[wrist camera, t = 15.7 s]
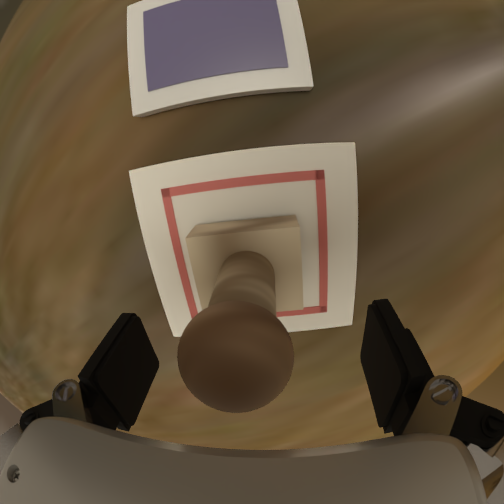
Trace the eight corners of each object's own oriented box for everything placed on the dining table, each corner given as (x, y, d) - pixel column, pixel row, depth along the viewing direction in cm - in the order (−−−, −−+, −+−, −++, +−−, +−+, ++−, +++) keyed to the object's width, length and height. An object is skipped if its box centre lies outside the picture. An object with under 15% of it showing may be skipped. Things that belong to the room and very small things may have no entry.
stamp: (294, 212, 17) (335, 334, 6) (298, 285, 19) (323, 433, 9) (197, 222, 18) (111, 341, 7) (211, 292, 20) (166, 432, 9)
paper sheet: (353, 142, 15) (355, 142, 15) (351, 322, 21) (352, 325, 20) (130, 170, 17) (128, 171, 17) (174, 334, 22) (173, 337, 22)
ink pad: (288, -17, 11) (290, -28, 9) (309, 90, 14) (314, 85, 13) (135, 12, 12) (126, 5, 10) (142, 117, 15) (131, 116, 14)
